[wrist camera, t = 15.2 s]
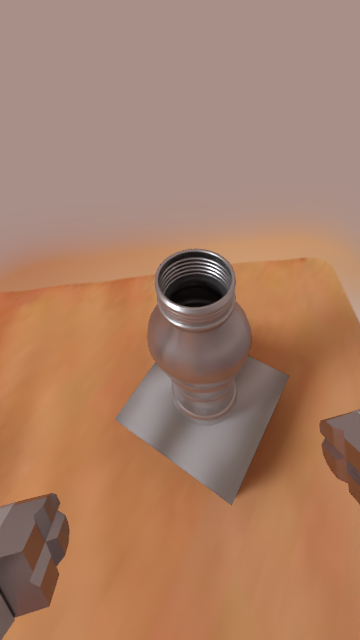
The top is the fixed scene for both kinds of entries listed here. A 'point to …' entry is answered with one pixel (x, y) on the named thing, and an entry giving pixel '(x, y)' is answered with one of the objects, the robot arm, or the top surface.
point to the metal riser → (207, 441)
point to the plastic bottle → (199, 334)
